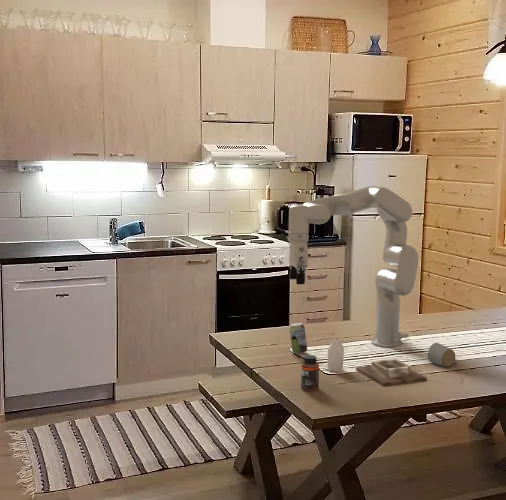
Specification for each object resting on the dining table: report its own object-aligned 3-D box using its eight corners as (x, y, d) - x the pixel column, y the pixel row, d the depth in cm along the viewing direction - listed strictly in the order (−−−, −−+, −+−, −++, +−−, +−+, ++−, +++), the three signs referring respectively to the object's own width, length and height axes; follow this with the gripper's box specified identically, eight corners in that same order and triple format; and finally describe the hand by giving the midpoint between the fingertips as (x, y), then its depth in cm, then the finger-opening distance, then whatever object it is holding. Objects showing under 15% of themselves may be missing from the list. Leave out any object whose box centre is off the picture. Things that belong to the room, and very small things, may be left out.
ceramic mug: (443, 369, 258) (444, 349, 257) (426, 363, 264) (427, 343, 263) (462, 365, 263) (463, 345, 262) (445, 359, 270) (446, 340, 269)
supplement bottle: (317, 385, 238) (318, 353, 236) (319, 392, 232) (320, 359, 230) (300, 385, 238) (300, 353, 236) (301, 392, 232) (302, 359, 230)
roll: (340, 335, 257) (346, 339, 252) (339, 366, 259) (345, 371, 254) (325, 336, 256) (331, 340, 250) (324, 367, 257) (330, 372, 252)
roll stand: (397, 364, 262) (397, 354, 262) (426, 379, 246) (426, 369, 245) (355, 370, 255) (356, 359, 255) (382, 385, 239) (383, 374, 238)
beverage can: (306, 356, 271) (307, 326, 269) (287, 354, 273) (288, 325, 271) (308, 351, 277) (309, 322, 276) (290, 350, 279) (290, 321, 277)
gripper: (314, 240, 256) (312, 285, 259) (301, 234, 273) (300, 277, 275) (294, 240, 254) (293, 286, 257) (283, 234, 271) (282, 277, 274)
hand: (297, 281), depth 266 cm, fingers open, 9 cm apart
